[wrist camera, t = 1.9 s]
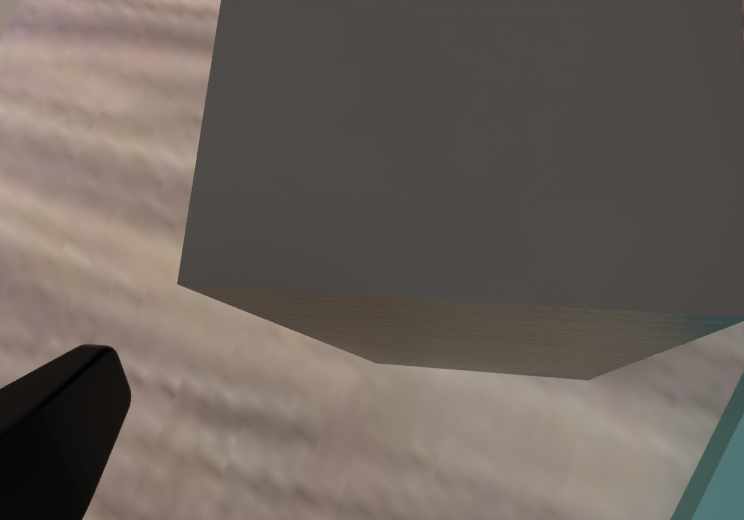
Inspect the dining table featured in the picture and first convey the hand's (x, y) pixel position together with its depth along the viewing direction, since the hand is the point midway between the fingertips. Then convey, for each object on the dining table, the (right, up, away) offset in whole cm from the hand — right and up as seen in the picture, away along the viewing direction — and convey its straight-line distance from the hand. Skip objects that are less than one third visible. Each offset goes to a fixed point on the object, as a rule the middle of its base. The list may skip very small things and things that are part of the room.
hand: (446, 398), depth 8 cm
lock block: (+2, +1, +11) cm, 12 cm away
